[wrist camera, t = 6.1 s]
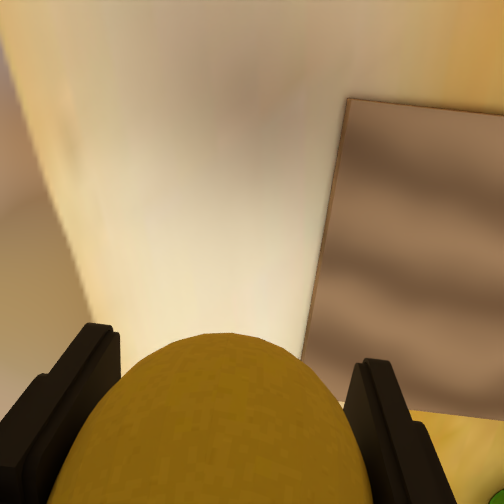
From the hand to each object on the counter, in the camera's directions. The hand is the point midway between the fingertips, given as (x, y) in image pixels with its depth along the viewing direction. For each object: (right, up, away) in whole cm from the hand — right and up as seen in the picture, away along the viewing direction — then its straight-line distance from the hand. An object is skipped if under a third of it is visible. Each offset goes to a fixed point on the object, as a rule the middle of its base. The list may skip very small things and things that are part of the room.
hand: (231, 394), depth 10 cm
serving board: (+13, +2, +17) cm, 22 cm away
